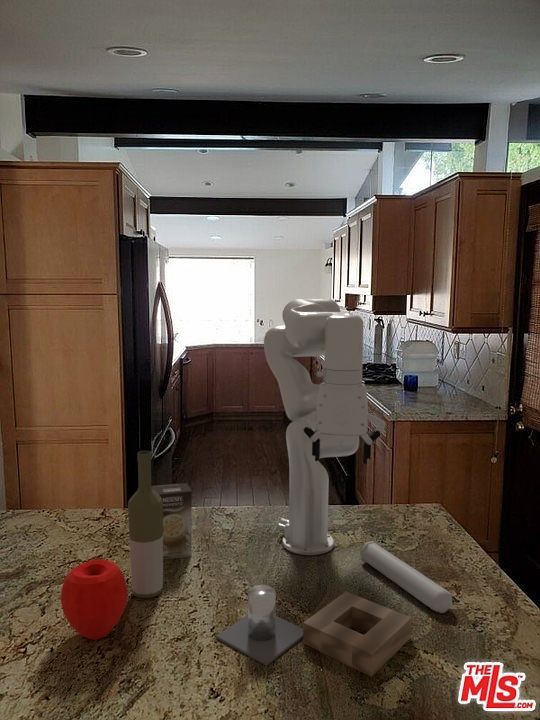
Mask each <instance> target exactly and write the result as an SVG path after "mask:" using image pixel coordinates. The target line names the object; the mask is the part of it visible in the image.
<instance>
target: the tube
mask: <svg viewBox="0 0 540 720" xmlns="http://www.w3.org/2000/svg"><path fill="white" fill-rule="evenodd" d="M360 560H361V561H362V562H365V564H368V565H370V566H371V567H373V568H374V569H375V570H377V571H378V572H380V573H381V574H382V575H384V576H385V577H387V578H388V579H389V580H391V581H392V582H393V583H395V584H396V585H397V586H399V587H400V588H402V589H403V590H405V591H406V592H407V593H409V594H410V595H412V596H413V597H414V598H416V599H417V600H418V601H420V602H421V603H422V604H424V605H425V606H427V607H429V608H430V609H431V610H432V611H433V612H436V613H438V612H439V613H438V614H444V613H446V612H447V611H449V610H450V609H451V607H452V606H453V599H452V594H451V592H450V591H449V590H447V589H445V588H444V587H442V586H441V585H440V584H438V583H436V582H435V581H433V580H432V579H430V578H429V577H427V576H426V575H425V574H423V573H421V572H419V570H417V569H415V568H414V567H412V566H410V565H409V564H408V563H405V561H403V560H402V559H399V558H398V557H397V556H395V555H394V554H392V553H391V552H389V551H388V550H386V549H384V548H383V547H381V545H380V544H379V543H377V542H375V541H374V540H371V541H367V542H365V544H364V545H363V546H362V548H361V549H360Z"/></svg>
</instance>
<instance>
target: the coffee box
mask: <svg viewBox="0 0 540 720" xmlns="http://www.w3.org/2000/svg"><path fill="white" fill-rule="evenodd" d="M151 486H152V489H153V490H154V491H155V492H156V493H157V494H158V495H159V496H160V497H161V499H162V502H163V561H165V560H171V559H181V558H187V557H188V558H189V557H192V555H193V554H192V545H193V544H192V537H193V536H192V533H193V532H192V526H193V525H192V512H193V511H192V506H193V505H192V493H193V492H192V490H191V488H190V485H188V483H187V482H183V483H170V484H169V483H168V484H159V485H157V484H156V485H151Z"/></svg>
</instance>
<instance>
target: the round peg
mask: <svg viewBox="0 0 540 720" xmlns="http://www.w3.org/2000/svg"><path fill="white" fill-rule="evenodd" d="M276 595H277V594H276V589H275V588H274V587H272V586H270V585H267V584H258V585H257V584H256V585H253V586H252V587H250V588H249V589H248V591H247V615H248V635H249V637H250V638H251V639H253V640H256V641H268V640H270V639H272V638H273V637H274V636H275V616H276V612H277V611H276V608H277V607H276V603H277V602H276V599H277V598H276Z"/></svg>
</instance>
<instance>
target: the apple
mask: <svg viewBox="0 0 540 720" xmlns="http://www.w3.org/2000/svg"><path fill="white" fill-rule="evenodd" d="M60 591H61V592H60V604H61V609H62V613H63V615H64V617H65V619H66V620H67V622H68V623H69V624H70V626H71V627H72V628H73V629H74V631H76V632H77V633H78V634H79V635H80V636H83V637H84V638H86V639H88V640H94V641H95V640H101V639H103V638H105V637H106V636H107V635H109V634H110V633H111V632H112V630H113V629H114V628H115V626H116V625H117V624H118V623H119V620H120V619H121V618H122V616H123V613H124V612H125V609H126V605H127V602H128V585H127V581H126V578H125V574H124V572H122V570H121V568H119V566H118V565H117V564H116V563H115V562H113V561H110V560H107V559H102V558H101V559H100V558H96V559H95V558H94V559H91V560H88V561H86V562H83V563H81V564H79V565H77V566H74V567H73V568H72V569H71V570H70V571H69V572H68V574H67V575H66V577H65V578H64V581H63V584H62V587H61V590H60Z"/></svg>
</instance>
